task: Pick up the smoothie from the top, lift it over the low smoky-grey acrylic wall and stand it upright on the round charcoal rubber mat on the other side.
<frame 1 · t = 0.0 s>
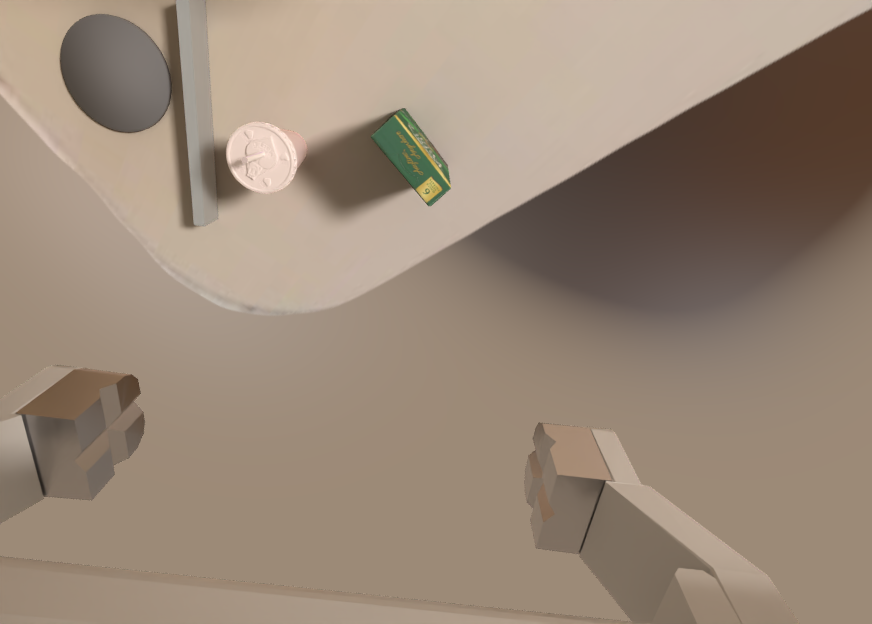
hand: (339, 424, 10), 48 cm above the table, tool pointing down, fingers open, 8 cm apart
smoothie: (290, 148, 54), on the table
coffee box: (418, 146, 54), on the table
pad: (118, 75, 51), on the table
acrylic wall: (206, 117, 53), on the table
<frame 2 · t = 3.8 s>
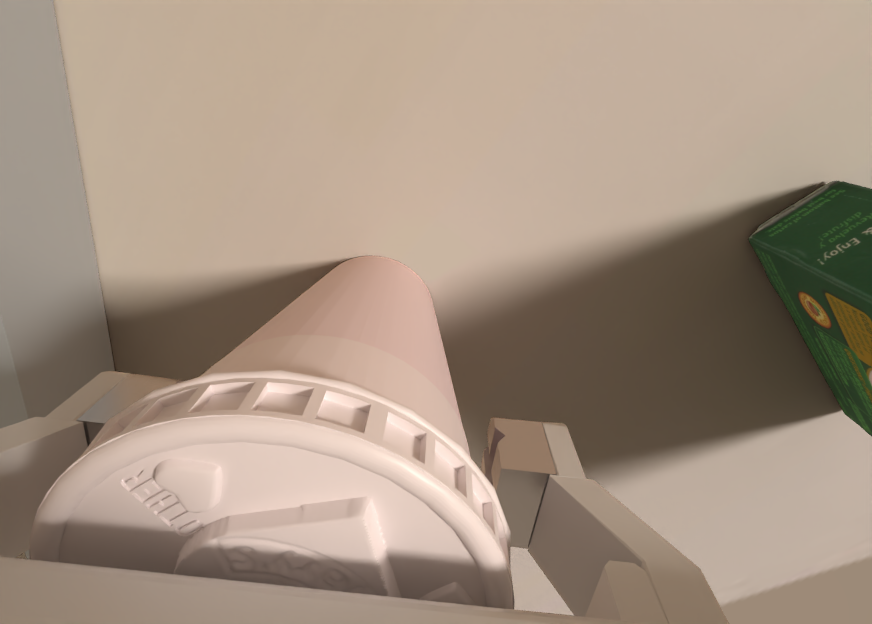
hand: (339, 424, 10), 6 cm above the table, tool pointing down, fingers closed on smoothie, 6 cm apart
smoothie: (375, 310, 15), on the table, touching gripper
coffee box: (834, 306, 15), on the table
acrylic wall: (67, 212, 14), on the table
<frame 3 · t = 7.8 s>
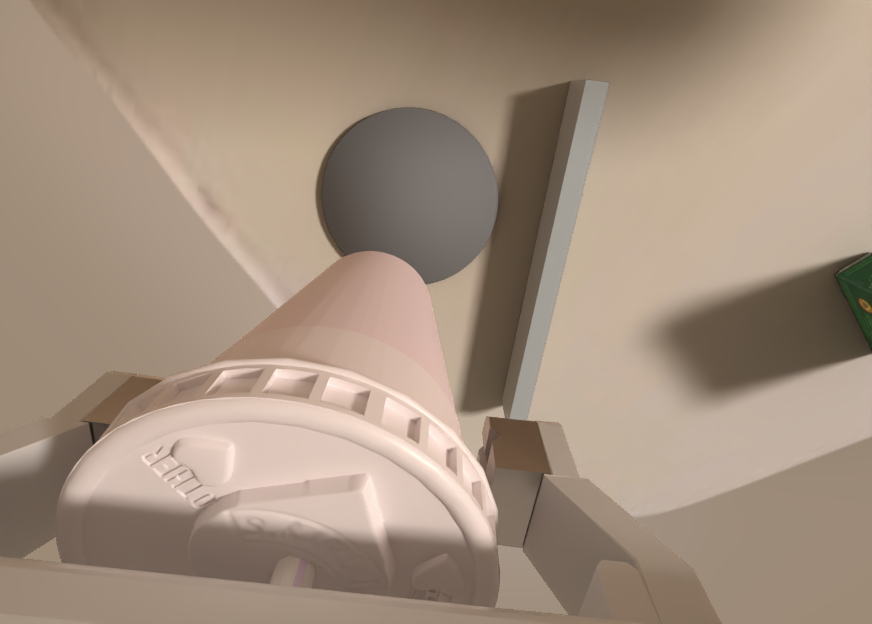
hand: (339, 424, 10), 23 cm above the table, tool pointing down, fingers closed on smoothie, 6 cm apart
smoothie: (374, 303, 16), point 17 cm above the table, touching gripper
coffee box: (870, 304, 34), on the table
pad: (410, 201, 31), on the table
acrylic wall: (540, 263, 33), on the table
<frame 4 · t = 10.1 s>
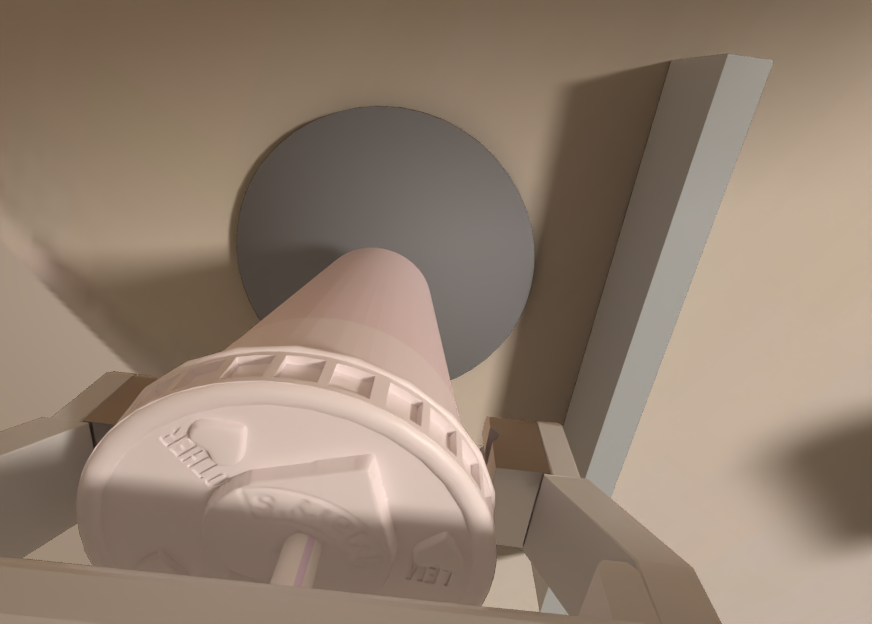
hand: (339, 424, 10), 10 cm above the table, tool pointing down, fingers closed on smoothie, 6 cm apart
smoothie: (375, 299, 16), point 3 cm above the table, touching gripper
pad: (386, 262, 19), on the table
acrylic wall: (597, 359, 20), on the table
when the fingers open (7 cm above the table, at t = 11.6 s): smoothie stays where it is, resting on pad.
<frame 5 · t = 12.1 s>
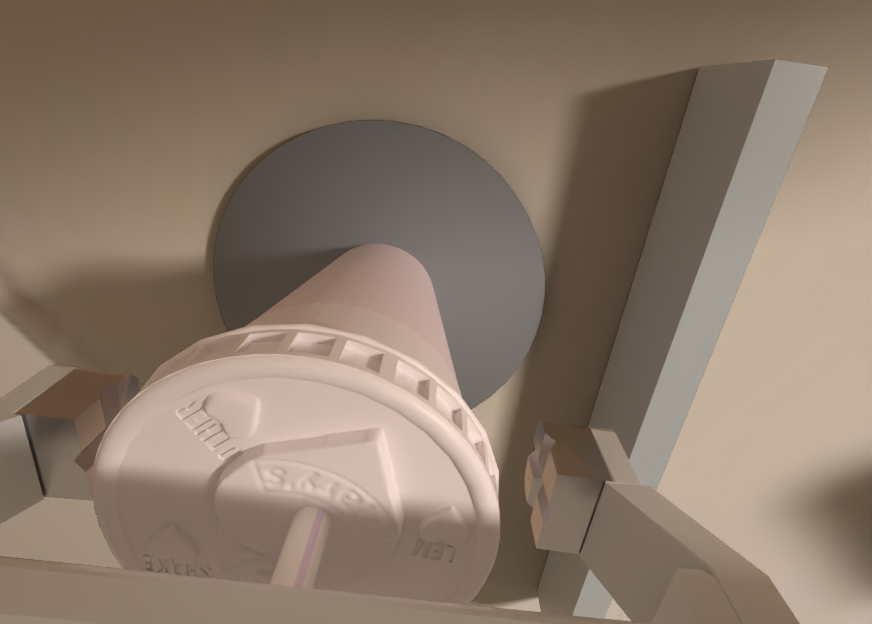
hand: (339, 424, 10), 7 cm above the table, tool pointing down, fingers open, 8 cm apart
smoothie: (379, 295, 17), resting on pad
pad: (381, 291, 17), on the table
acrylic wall: (614, 394, 18), on the table
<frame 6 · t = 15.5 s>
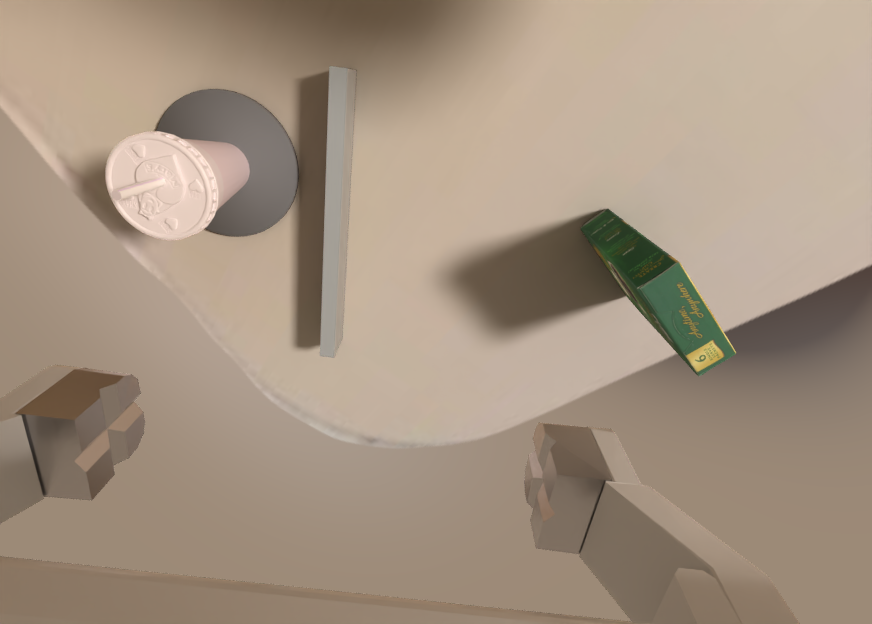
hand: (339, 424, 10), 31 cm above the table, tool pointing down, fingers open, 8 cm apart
smoothie: (226, 166, 38), resting on pad
coffee box: (617, 253, 41), on the table
pad: (228, 166, 38), on the table
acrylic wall: (341, 218, 40), on the table
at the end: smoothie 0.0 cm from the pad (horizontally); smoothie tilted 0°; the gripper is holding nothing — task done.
